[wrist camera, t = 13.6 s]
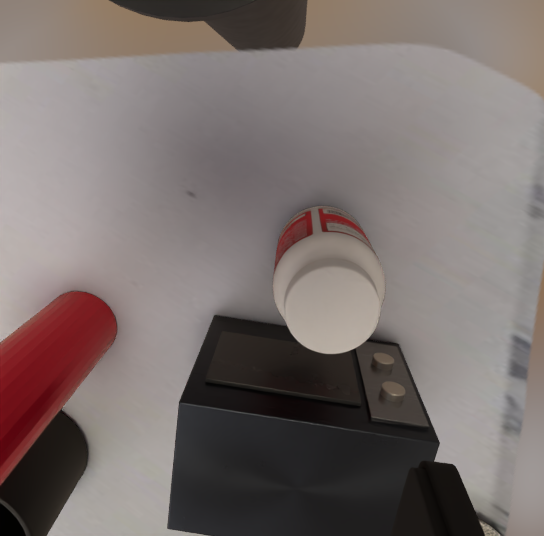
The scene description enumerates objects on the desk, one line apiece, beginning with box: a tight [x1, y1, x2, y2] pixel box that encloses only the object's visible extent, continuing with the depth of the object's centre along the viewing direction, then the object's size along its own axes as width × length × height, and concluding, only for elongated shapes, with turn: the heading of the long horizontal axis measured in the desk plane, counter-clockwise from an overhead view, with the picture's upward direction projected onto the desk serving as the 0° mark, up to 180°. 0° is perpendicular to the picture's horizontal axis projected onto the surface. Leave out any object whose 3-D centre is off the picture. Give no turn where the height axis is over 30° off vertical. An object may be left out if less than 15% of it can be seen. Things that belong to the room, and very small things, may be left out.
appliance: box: [167, 315, 440, 536], centre depth 32 cm, size 10×14×11 cm
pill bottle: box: [273, 206, 386, 354], centre depth 28 cm, size 6×6×11 cm
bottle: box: [0, 291, 117, 486], centre depth 27 cm, size 5×5×20 cm
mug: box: [0, 411, 87, 536], centre depth 36 cm, size 9×12×9 cm
